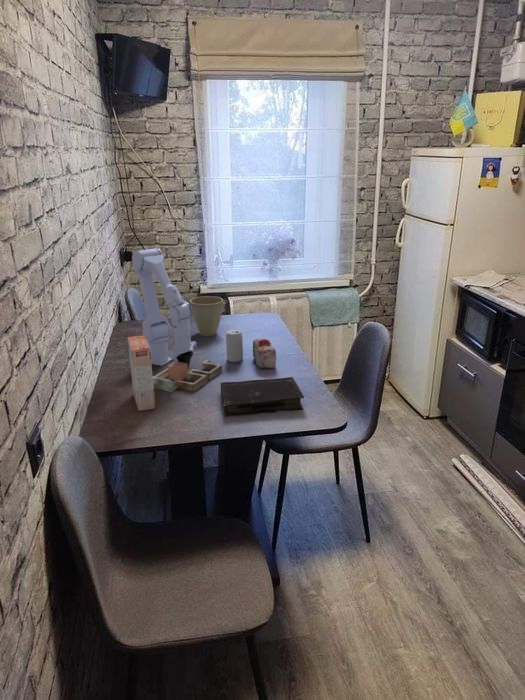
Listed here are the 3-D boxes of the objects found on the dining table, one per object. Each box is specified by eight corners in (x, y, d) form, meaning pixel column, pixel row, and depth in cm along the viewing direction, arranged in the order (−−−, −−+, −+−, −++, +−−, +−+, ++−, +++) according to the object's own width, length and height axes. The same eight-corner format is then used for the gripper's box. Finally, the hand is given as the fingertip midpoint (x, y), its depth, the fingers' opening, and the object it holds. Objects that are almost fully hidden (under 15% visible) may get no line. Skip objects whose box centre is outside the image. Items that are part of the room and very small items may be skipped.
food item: (278, 369, 185) (278, 344, 182) (258, 371, 183) (258, 347, 180) (268, 356, 198) (268, 333, 194) (249, 358, 196) (249, 335, 192)
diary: (220, 394, 167) (220, 380, 166) (292, 388, 171) (292, 375, 169) (225, 419, 150) (224, 404, 148) (304, 412, 154) (304, 397, 152)
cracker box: (157, 409, 156) (150, 348, 149) (137, 412, 154) (130, 350, 147) (151, 391, 168) (145, 334, 161) (133, 394, 167) (126, 336, 159)
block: (169, 378, 178) (167, 366, 176) (177, 373, 182) (176, 361, 181) (180, 380, 176) (179, 368, 174) (188, 375, 180) (187, 363, 179)
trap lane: (148, 387, 172) (147, 376, 170) (187, 362, 193) (187, 352, 191) (188, 395, 165) (187, 384, 163) (225, 369, 186) (224, 359, 184)
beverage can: (240, 363, 191) (239, 334, 186) (225, 362, 192) (223, 333, 188) (244, 357, 196) (243, 329, 192) (229, 356, 198) (228, 328, 193)
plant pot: (223, 338, 218) (221, 304, 213) (190, 339, 219) (187, 304, 213) (225, 328, 232) (224, 295, 227) (194, 328, 233) (192, 296, 227)
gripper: (180, 343, 170) (183, 379, 175) (202, 331, 182) (204, 365, 187) (163, 341, 173) (166, 376, 178) (186, 329, 185) (188, 362, 190)
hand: (185, 370), depth 182 cm, fingers closed
